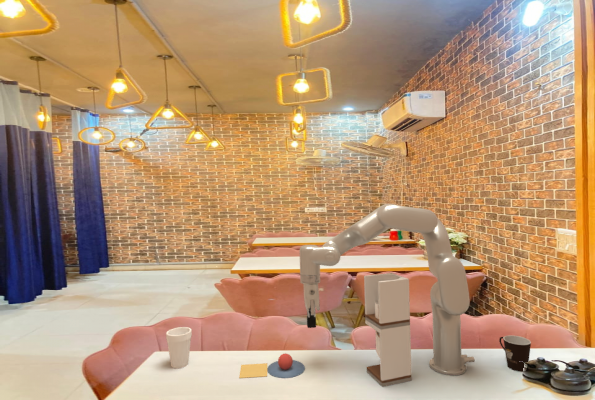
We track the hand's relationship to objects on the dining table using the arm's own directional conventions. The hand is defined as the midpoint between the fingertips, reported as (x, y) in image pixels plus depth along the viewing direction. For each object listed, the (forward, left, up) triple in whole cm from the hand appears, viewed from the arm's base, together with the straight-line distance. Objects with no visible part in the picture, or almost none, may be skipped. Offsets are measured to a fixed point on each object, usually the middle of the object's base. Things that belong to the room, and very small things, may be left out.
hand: (311, 326), depth 136 cm
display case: (-26, +11, -15) cm, 32 cm away
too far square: (+22, 0, -15) cm, 27 cm away
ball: (+10, 0, -12) cm, 16 cm away
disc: (+10, 0, -15) cm, 18 cm away
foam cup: (+51, -9, -15) cm, 54 cm away
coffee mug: (-74, +9, -15) cm, 76 cm away
